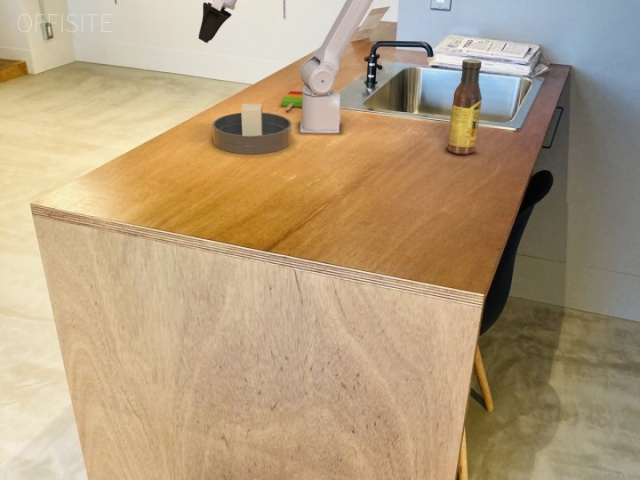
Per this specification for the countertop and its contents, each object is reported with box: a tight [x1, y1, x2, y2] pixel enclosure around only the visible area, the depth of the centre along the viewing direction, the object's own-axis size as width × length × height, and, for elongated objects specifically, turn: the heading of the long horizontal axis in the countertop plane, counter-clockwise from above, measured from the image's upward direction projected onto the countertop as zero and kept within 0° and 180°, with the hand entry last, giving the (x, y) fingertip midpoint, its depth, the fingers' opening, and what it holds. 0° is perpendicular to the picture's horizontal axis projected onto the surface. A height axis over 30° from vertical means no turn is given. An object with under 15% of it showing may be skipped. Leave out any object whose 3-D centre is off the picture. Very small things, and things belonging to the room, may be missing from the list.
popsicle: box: [281, 90, 302, 111], centre depth 185 cm, size 6×15×2 cm, turn 169°
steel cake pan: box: [212, 112, 293, 155], centre depth 158 cm, size 18×18×4 cm
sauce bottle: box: [447, 58, 483, 155], centre depth 152 cm, size 7×6×20 cm
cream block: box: [240, 103, 263, 136], centre depth 157 cm, size 4×4×8 cm
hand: (204, 39), depth 151 cm, fingers open, 7 cm apart
